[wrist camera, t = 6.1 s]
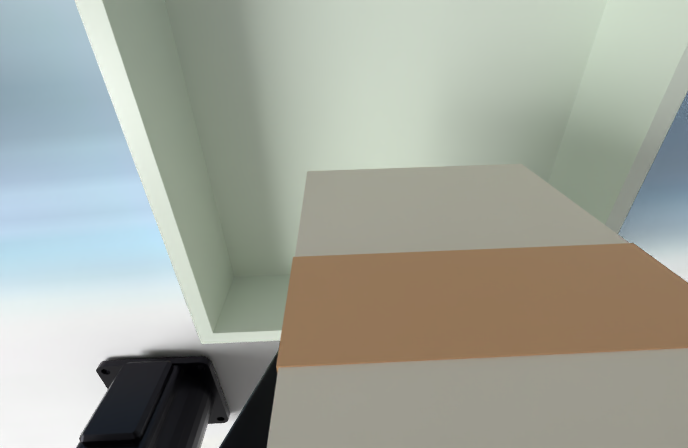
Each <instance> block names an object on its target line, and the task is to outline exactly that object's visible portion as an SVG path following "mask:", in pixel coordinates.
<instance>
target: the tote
mask: <svg viewBox="0 0 688 448" xmlns="http://www.w3.org/2000/svg"><path fill="white" fill-rule="evenodd" d="M75 3H76V5H77V8H78V11H79V14H80V16H81V19H82V22H83V24H84V27H85V30H86V33H87V35H88V38H89V41H90V43H91V46H92V49H93V51H94V54H95V57H96V60H97V62H98V65H99V68H100V70H101V73H102V76H103V79H104V81H105V84H106V87H107V89H108V92H109V95H110V98H111V100H112V103H113V106H114V108H115V111H116V114H117V117H118V119H119V122H120V125H121V127H122V130H123V133H124V136H125V138H126V141H127V144H128V146H129V149H130V152H131V155H132V157H133V160H134V163H135V165H136V168H137V171H138V174H139V176H140V179H141V182H142V184H143V187H144V190H145V193H146V195H147V198H148V201H149V203H150V206H151V209H152V212H153V214H154V217H155V220H156V222H157V225H158V228H159V231H160V233H161V236H162V239H163V241H164V244H165V247H166V249H167V252H168V255H169V258H170V260H171V263H172V266H173V268H174V271H175V274H176V277H177V279H178V282H179V285H180V287H181V290H182V293H183V296H184V298H185V301H186V304H187V306H188V309H189V312H190V315H191V317H192V320H193V323H194V325H195V328H196V331H197V334H198V336H199V339H200V342H201V344H216V343H239V342H262V341H280V338H281V332H282V325H283V319H284V312H285V306H286V299H287V293H288V286H289V280H290V273H291V267H292V260H293V257H295V251H296V245H297V238H298V231H299V224H300V217H301V211H302V204H303V197H304V190H305V183H306V176H307V171H327V170H356V169H384V168H413V167H441V166H469V165H498V164H523V165H524V166H525V167H527V168H528V169H530V170H531V171H532V172H534V173H535V174H536V175H538V176H539V177H540V178H542V179H543V180H544V181H546V182H547V183H549V184H550V185H551V186H553V187H554V188H555V189H557V190H558V191H559V192H561V193H562V194H564V195H565V196H566V197H568V198H569V199H570V200H572V201H573V202H574V203H576V204H577V205H579V206H580V207H581V208H583V209H584V210H585V211H587V212H588V213H589V214H591V215H592V216H594V217H595V218H596V219H598V220H599V221H600V222H602V223H603V224H604V225H606V226H607V227H609V228H610V229H611V230H613V231H614V232H615V233H617V234H618V233H619V231H620V229H621V227H622V225H623V222H624V220H625V218H626V216H627V214H628V212H629V210H630V208H631V206H632V204H633V202H634V200H635V198H636V196H637V194H638V192H639V190H640V188H641V186H642V184H643V182H644V179H645V177H646V175H647V173H648V171H649V169H650V167H651V165H652V163H653V161H654V159H655V157H656V155H657V153H658V151H659V149H660V147H661V145H662V143H663V141H664V139H665V136H666V134H667V132H668V130H669V128H670V126H671V124H672V122H673V120H674V118H675V116H676V114H677V112H678V110H679V108H680V106H681V104H682V102H683V100H684V98H685V95H686V93H687V91H688V0H75Z"/></svg>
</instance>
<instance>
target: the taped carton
mask: <svg viewBox="0 0 688 448" xmlns="http://www.w3.org/2000/svg"><path fill="white" fill-rule="evenodd" d="M276 368H277V373H278V374H277V381H276V388H275V394H274V401H273V408H272V415H271V422H270V428H269V435H268V442H267V448H688V282H686V281H685V280H683V279H682V278H681V277H679V276H678V275H676V274H675V273H674V272H672V271H671V270H670V269H668V268H667V267H665V266H664V265H663V264H661V263H660V262H659V261H657V260H656V259H654V258H653V257H652V256H650V255H649V254H648V253H646V252H645V251H643V250H642V249H641V248H639V247H638V246H637V245H635V244H634V243H629V242H628V241H626V240H625V239H623V238H622V237H621V236H619V235H618V234H617V233H615V232H614V231H613V230H611V229H610V228H609V227H607V226H606V225H604V224H603V223H602V222H600V221H599V220H598V219H596V218H595V217H594V216H592V215H591V214H589V213H588V212H587V211H585V210H584V209H583V208H581V207H580V206H579V205H577V204H576V203H574V202H573V201H572V200H570V199H569V198H568V197H566V196H565V195H564V194H562V193H561V192H559V191H558V190H557V189H555V188H554V187H553V186H551V185H550V184H549V183H547V182H546V181H544V180H543V179H542V178H540V177H539V176H538V175H536V174H535V173H534V172H532V171H531V170H530V169H528V168H527V167H525V166H524V165H523V164H498V165H469V166H441V167H413V168H384V169H356V170H327V171H307V176H306V183H305V190H304V197H303V204H302V211H301V217H300V224H299V231H298V238H297V245H296V251H295V257H293V260H292V267H291V273H290V280H289V286H288V293H287V299H286V306H285V312H284V319H283V325H282V332H281V338H280V345H279V351H278V358H277V364H276Z"/></svg>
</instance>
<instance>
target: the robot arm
mask: <svg viewBox="0 0 688 448" xmlns="http://www.w3.org/2000/svg"><path fill="white" fill-rule="evenodd" d="M277 358H278V352H277V354H276V355H275V357H274V359H273V360H272V362H271V364H270V365H269V367H268V369H267V370H266V372H265V373H264V375H263V377H262V378H261V380H260V382H259V383H258V385H257V387H256V388H255V390H254V391H253V393H252V395H251V396H250V398H249V400H248V401H247V403H246V405H245V406H244V408H243V409H242V411H241V413H240V414H239V416H238V418H237V419H236V421H235V422H234V424H233V426H232V427H231V429H230V431H229V432H228V434H227V436H226V437H225V439H224V440H223V442H222V444H221V445H220V447H219V448H267V442H268V435H269V428H270V422H271V415H272V408H273V401H274V394H275V388H276V381H277V374H278V373H277V368H276V364H277ZM96 371H97V373H98V375H99V376H100V378H101V379H102V381H103V382H104V384H105V385H106V387H107V388H108V390H107V392H106V394H105V395H104V397H103V399H102V400H101V402H100V404H99V405H98V407H97V409H96V410H95V412H94V414H93V415H92V417H91V419H90V420H89V422H88V424H87V425H86V427H85V428H84V430H83V432H82V433H81V435H80V438H79V439H80V442H79V444H78V446H77V447H76V448H201V444H202V441H203V438H204V435H205V431H206V428H207V425H208V424H213V423H225V422H227V421H228V419H229V415H230V412H229V409H228V406H227V404H226V401H225V398H224V395H223V392H222V390H221V387H220V384H219V381H218V379H217V376H216V373H215V370H214V367H213V365H212V362H211V360H210V359H209V358H207V357H203V356H198V357H175V358H153V359H130V360H108V361H103V362H101V363H100V365H99V366H98V368H97V370H96Z"/></svg>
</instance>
